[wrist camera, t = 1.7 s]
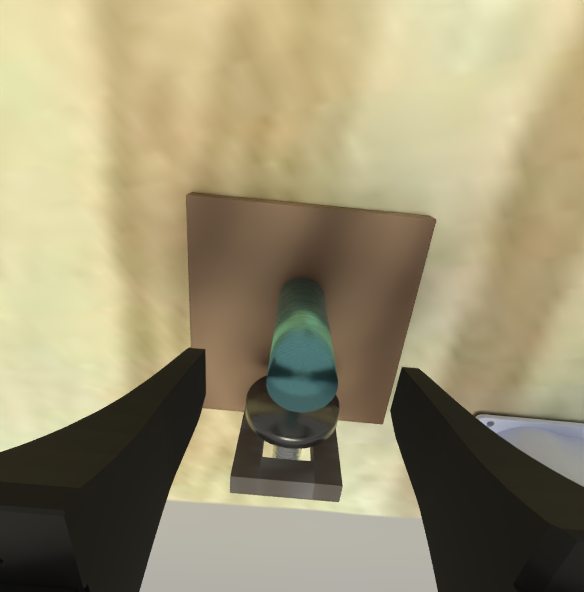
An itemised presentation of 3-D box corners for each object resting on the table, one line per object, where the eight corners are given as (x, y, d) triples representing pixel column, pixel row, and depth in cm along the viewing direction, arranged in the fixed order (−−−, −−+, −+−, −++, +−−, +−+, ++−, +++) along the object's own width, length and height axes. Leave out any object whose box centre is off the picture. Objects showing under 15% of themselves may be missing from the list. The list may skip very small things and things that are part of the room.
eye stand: (429, 215, 19) (499, 254, 12) (379, 413, 24) (408, 513, 18) (191, 192, 19) (131, 218, 12) (197, 397, 24) (158, 491, 18)
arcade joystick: (349, 281, 19) (377, 361, 12) (323, 435, 23) (332, 556, 16) (258, 273, 19) (234, 347, 12) (250, 429, 23) (228, 548, 16)
